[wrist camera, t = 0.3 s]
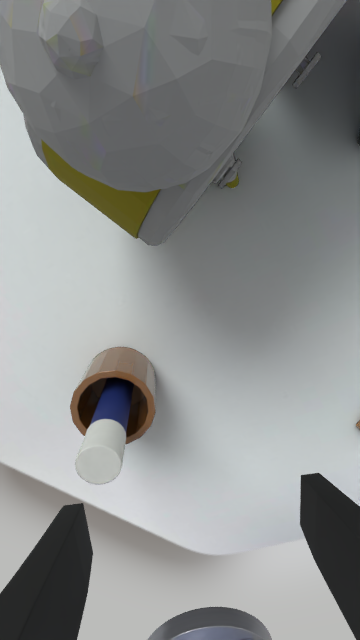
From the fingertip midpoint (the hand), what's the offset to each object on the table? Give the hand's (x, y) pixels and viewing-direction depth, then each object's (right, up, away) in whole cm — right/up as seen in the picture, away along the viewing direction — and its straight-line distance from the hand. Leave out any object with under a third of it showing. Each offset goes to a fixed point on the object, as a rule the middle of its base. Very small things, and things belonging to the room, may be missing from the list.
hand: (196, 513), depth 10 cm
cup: (-4, +2, +11) cm, 12 cm away
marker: (-4, +2, +10) cm, 12 cm away
